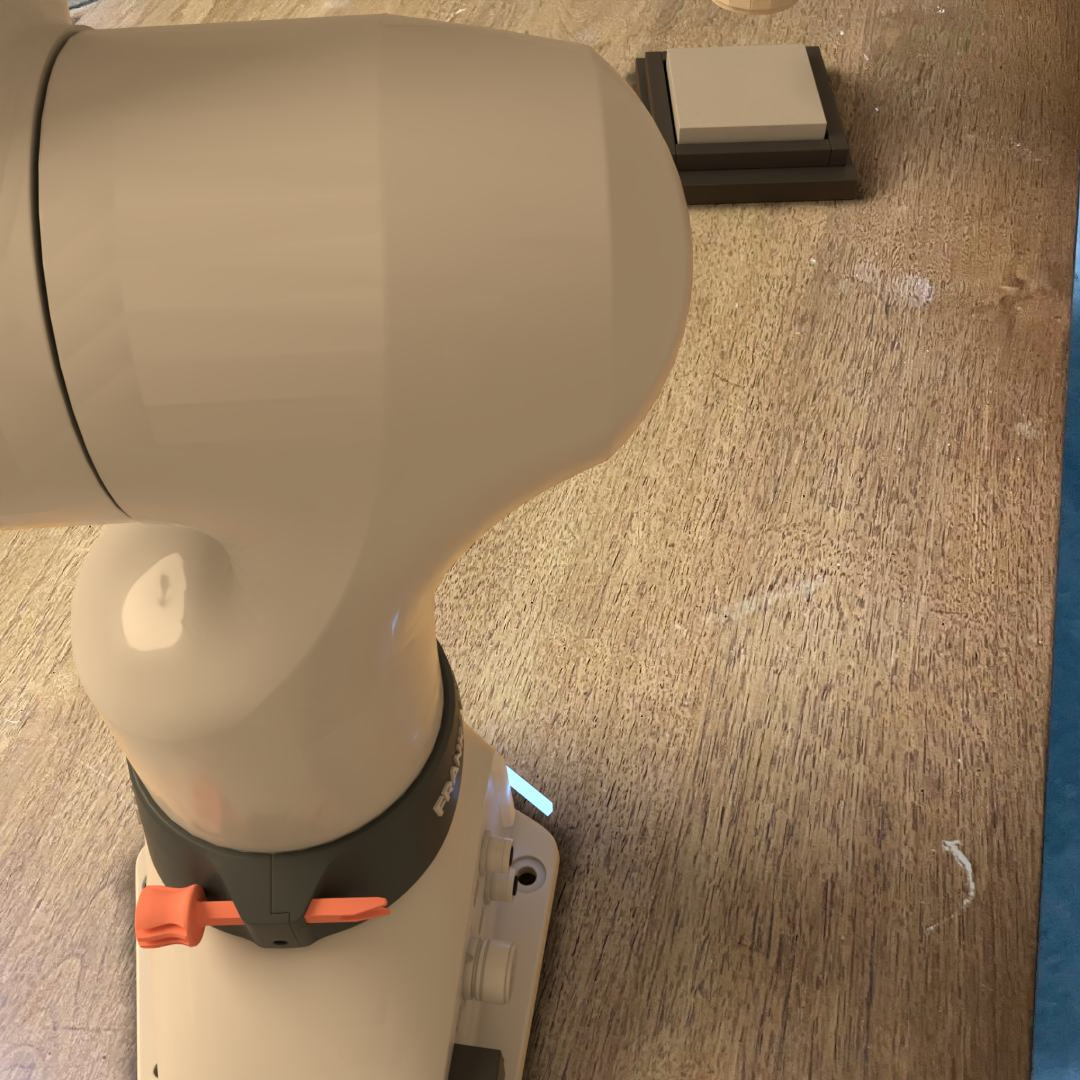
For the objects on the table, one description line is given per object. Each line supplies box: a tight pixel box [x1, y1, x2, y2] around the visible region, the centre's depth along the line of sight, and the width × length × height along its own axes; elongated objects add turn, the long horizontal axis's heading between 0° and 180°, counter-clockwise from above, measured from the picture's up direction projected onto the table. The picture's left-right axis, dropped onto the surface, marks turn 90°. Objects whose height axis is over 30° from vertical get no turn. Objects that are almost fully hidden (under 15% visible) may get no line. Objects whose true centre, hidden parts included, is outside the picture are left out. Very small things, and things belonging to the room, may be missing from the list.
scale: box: [634, 45, 859, 205], centre depth 87 cm, size 16×14×3 cm
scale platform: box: [666, 43, 827, 144], centre depth 85 cm, size 10×10×2 cm
